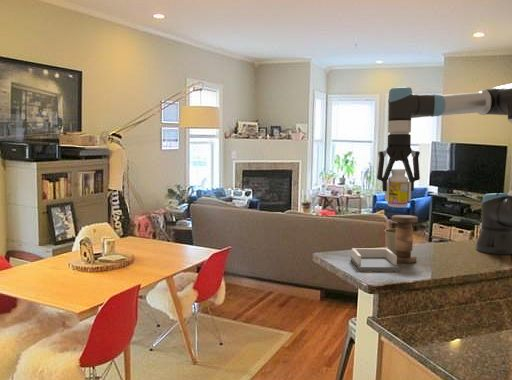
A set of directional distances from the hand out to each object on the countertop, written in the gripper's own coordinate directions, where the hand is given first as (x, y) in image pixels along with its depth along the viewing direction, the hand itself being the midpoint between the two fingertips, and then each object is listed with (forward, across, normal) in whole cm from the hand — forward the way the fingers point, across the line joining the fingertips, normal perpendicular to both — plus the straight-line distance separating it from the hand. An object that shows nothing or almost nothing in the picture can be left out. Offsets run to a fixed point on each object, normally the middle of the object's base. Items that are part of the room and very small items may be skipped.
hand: (397, 200), depth 166 cm
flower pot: (+23, -5, -20) cm, 31 cm away
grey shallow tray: (+23, +8, +1) cm, 24 cm away
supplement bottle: (+2, 0, 0) cm, 2 cm away
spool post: (+23, -4, -7) cm, 24 cm away
